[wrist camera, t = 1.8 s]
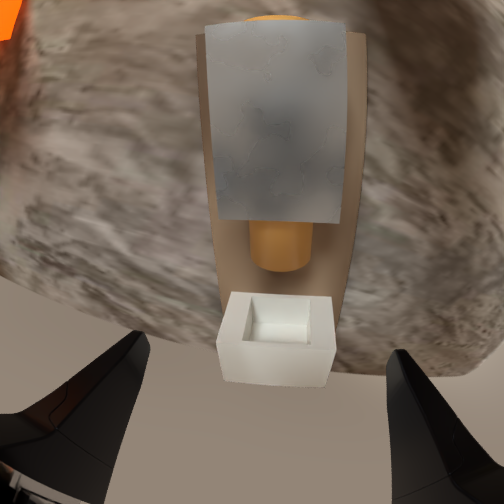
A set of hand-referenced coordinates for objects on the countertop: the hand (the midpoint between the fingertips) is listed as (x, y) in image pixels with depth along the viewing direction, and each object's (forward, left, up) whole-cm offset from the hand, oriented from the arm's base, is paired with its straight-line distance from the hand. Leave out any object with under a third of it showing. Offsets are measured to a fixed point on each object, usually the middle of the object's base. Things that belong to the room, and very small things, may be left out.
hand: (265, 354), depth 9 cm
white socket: (0, +9, -12) cm, 15 cm away
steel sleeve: (0, -7, -12) cm, 14 cm away
